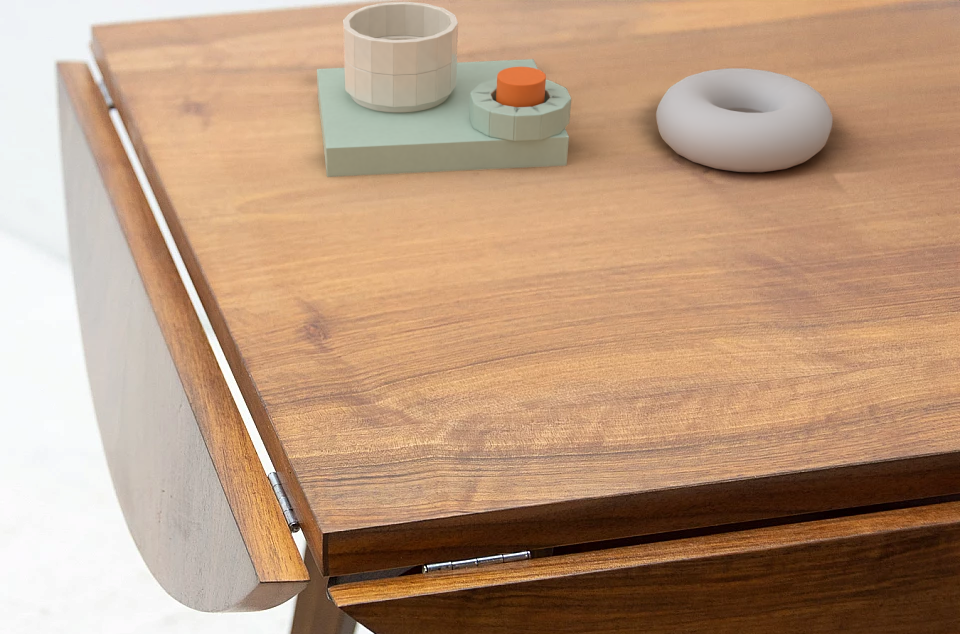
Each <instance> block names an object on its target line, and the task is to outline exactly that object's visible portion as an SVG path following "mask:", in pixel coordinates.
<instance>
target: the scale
mask: <svg viewBox="0 0 960 634" xmlns="http://www.w3.org/2000/svg"><path fill="white" fill-rule="evenodd" d="M511 67H530V68H535V69H538V70H539V67H538V65H537V63H536V61H535V59H534V58H527V59H525V58H524V59H523V58H522V59H505V60H503V59H502V60H483V61H482V60H481V61H480V60H479V61H462V62H458V61H457V76H456V87H455V88H454V90H453V91H452V93H451V94H450V95H449V97H448V98H447V100H446V101H444V102H443V103H441V104H440V105H438V106H435V107H433V108H430V109H426V110H421V111H415V112H405V113H393V112H382V111H376V110H372V109H368V108H365V107H363V106H361V105H359V104H357V103H356V102H354V101H353V100H352V98H351V96H350V94H348V93H347V92H346V91H345V85H344V67H332V68H317V69H316V86H317V87H316V88H317V102H318V109H319V119H320V128H321V134H322V135H321V137H322V146H323V154H324V163H325V172H326V177H327V178H333V177H334V178H337V177H354V176H356V177H357V176H375V175H376V176H377V175H378V176H379V175H397V174H399V175H400V174H401V175H402V174H419V173H441V172H460V171H463V172H464V171H480V170H481V171H482V170H498V169H499V170H503V169H523V168H544V167H565V166H566V167H567V165H568V155H569V143H570V136H569V134H568V132H567V129H566V128H567V127H568V126H569V124H570V122H571V121H570V120H571V119H570V118H571V108H572V96H571V95H570V92H569V91H568V88H566V87H565V86H563V85H561V84H558V83H556V82H554V81H552V80H549V79H546V85H545V99H544V103H542V104H539V105H536V106H533V107H512V106H506V105H502V104H500V103H498V102H496V90H497V75H498V73H499V72H500V71H502V70H504V69H506V68H511Z"/></svg>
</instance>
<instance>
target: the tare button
mask: <svg viewBox="0 0 960 634" xmlns="http://www.w3.org/2000/svg"><path fill="white" fill-rule="evenodd" d="M546 80H547V76H546V73H545V72H544V71H542V70H540V69H539V68H538V69H535V68H530V67H511V68H506V69H504V70H502V71H500V72H499V73H498V75H497V90H496V102H498V103H500V104H502V105H506V106H512V107H533V106H536V105H539V104H542V103H544V99H545V85H546Z"/></svg>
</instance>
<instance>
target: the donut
mask: <svg viewBox="0 0 960 634" xmlns="http://www.w3.org/2000/svg"><path fill="white" fill-rule="evenodd" d="M655 118H656V119H655V120H656V124H657V129H658V132H659V134H660V137H661V139H662V140H663V141H664V142H665V143H666V144H667V145H668V146H669V147H670V148H671V149H672V151H674V152H675V153H676V154H677V155H679V156H680V157H683V158H685V159H687V160H689V161H691V162H692V163H695V164H699V165H702V166H706V167H709V168H713V169H716V170H722V171H727V172H737V173H765V172H773V171H774V172H775V171H781V170H786V169H789V168H792V167H796V166H799V165H801V164H804V163H805V162H807V161H808V160H810V159H811V158H812V157H814V156H816V154H818V153H819V152H820V151H822V149H823V148H824V147H825V146H826V144H827V142H828V139H829V137H830V133H831V131H832V129H833V118H834V117H833V114H832V111H831V108H830V106H829V105H828V103H827V100H826V99H825V97H824V96H823V95H822V94H821V93H820V92H819V91H817V89H815V88H814V87H812V86H811V85H810V84H807V83H805V82H803V81H801V80H799V79H796V78H794V77H791V76H789V75H786V74H782V73H778V72H774V71H770V70H764V69H763V70H762V69H754V68H739V67H737V68H734V67H733V68H719V69H711V70H705V71H702V72H698V73H695V74H691V75H688V76H686V77H684V78H682V79H681V80H679V81H677V82H676V83H674V84H673V85H671V86H670V87H668V89H667V90H666V92H665V93H664V95H663V96H662V98H661V100H660V101H659V103H658V106H657V109H656V111H655Z"/></svg>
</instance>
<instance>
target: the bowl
mask: <svg viewBox="0 0 960 634" xmlns="http://www.w3.org/2000/svg"><path fill="white" fill-rule="evenodd" d="M458 38H459V22H458V18H457V16H456V14H454V13H453V12H451V11H450V10H448V9H446V8H445V7H441V6H438V5H434V4H430V3H425V2H413V1H393V2H392V1H390V2H381V3H376V4H370V5H364V6H361V7H360V8H358V9H355V10H353V11H351V12H349V13H348V14H347V15H346V16H345V17H344V18H343V20H342V46H343V47H342V48H343V50H342V51H343V68H344V85H345V91H346V92H347V93H348V94H350V96H351V98H352V100H353V101H354V102H356V103H357V104H359V105H361V106H363V107H365V108H368V109H372V110H376V111H382V112H393V113H405V112H415V111H421V110H426V109H430V108H433V107H435V106H438V105H440V104H441V103H443V102H444V101H446V100H447V98H448V97H449V95H450V94H451V93H452V91H453V90H454V88H455V87H456V76H457V63H458V42H459V39H458Z"/></svg>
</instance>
